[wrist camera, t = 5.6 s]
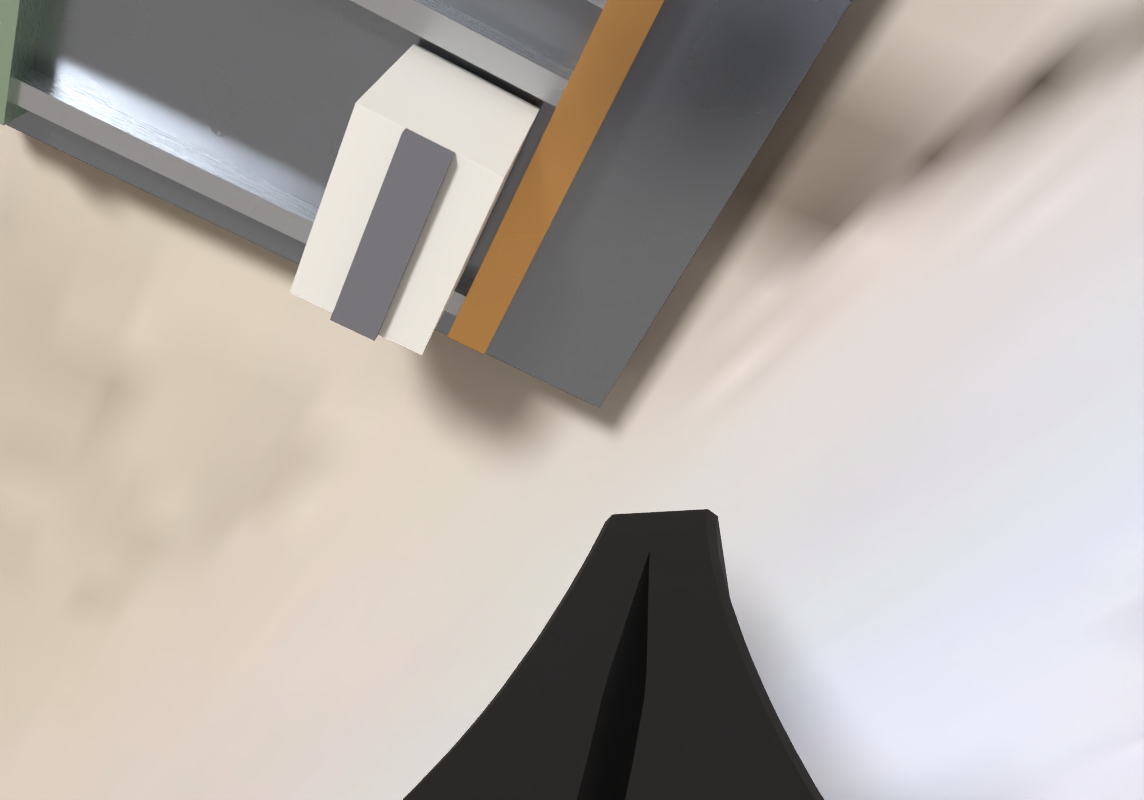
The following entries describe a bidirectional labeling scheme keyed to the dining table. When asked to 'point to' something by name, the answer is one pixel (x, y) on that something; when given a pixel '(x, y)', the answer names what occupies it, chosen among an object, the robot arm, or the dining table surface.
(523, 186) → the panel
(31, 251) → the dining table surface
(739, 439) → the dining table surface
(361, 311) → the breaker
